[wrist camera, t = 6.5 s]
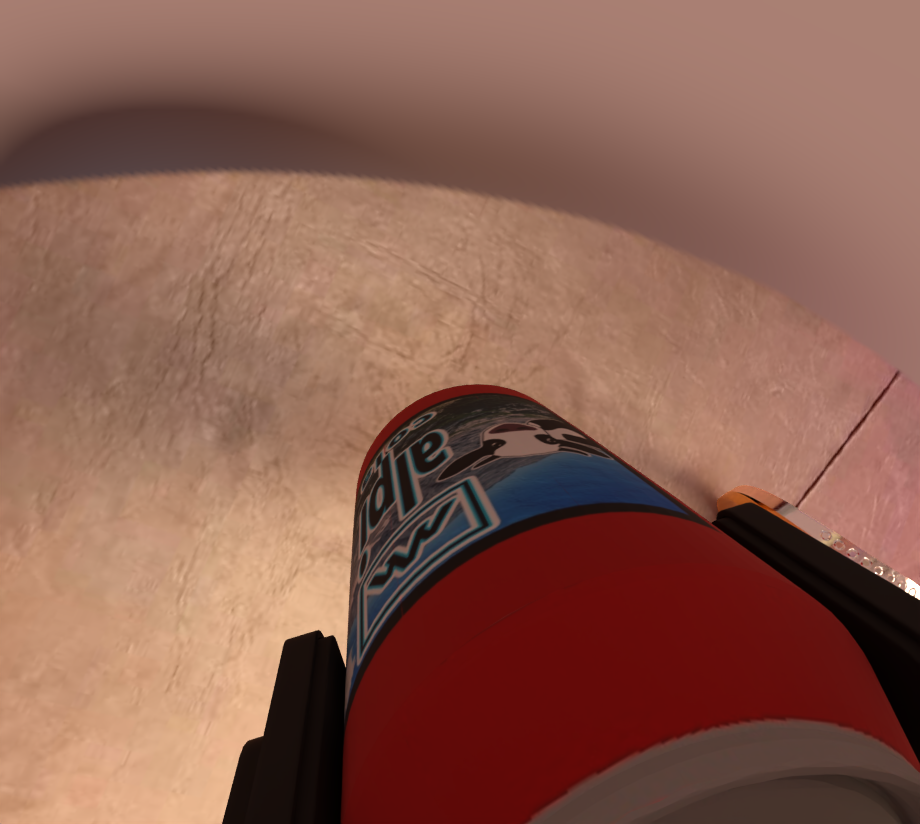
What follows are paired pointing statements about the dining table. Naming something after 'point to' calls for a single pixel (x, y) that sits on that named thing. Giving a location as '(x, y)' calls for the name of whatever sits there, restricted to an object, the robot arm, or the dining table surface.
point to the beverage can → (586, 646)
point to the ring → (814, 531)
